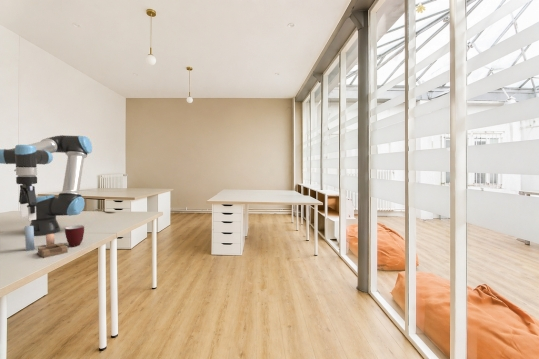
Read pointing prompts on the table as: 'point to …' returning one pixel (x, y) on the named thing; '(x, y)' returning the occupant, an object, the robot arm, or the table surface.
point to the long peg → (29, 238)
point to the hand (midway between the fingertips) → (28, 218)
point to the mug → (74, 235)
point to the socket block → (52, 250)
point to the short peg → (49, 239)
